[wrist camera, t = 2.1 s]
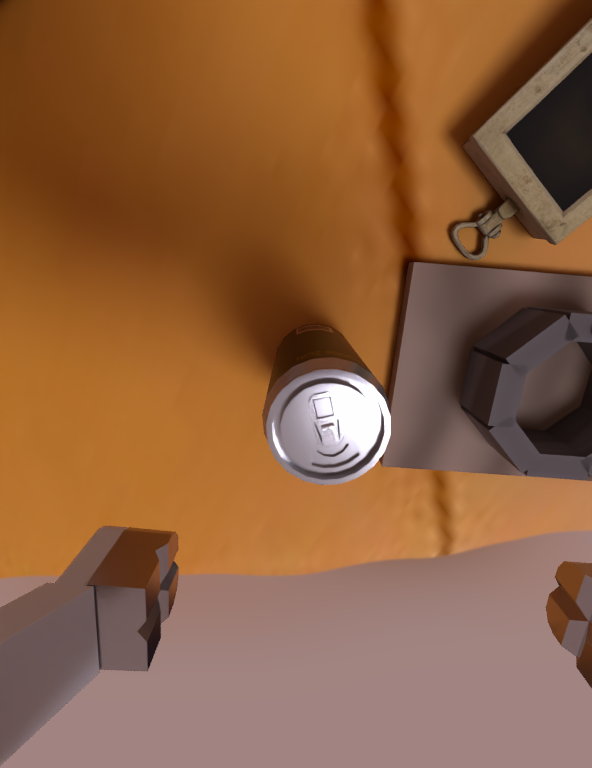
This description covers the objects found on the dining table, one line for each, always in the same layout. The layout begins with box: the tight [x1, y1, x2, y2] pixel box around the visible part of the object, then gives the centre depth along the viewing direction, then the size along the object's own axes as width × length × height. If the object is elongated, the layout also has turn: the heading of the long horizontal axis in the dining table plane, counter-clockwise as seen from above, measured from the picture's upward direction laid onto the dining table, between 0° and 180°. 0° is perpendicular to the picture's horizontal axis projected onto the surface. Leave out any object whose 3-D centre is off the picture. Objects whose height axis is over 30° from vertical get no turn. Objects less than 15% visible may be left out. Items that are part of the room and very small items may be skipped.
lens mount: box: [379, 262, 592, 481], centre depth 24 cm, size 19×14×6 cm
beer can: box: [262, 324, 390, 485], centre depth 21 cm, size 5×5×12 cm
